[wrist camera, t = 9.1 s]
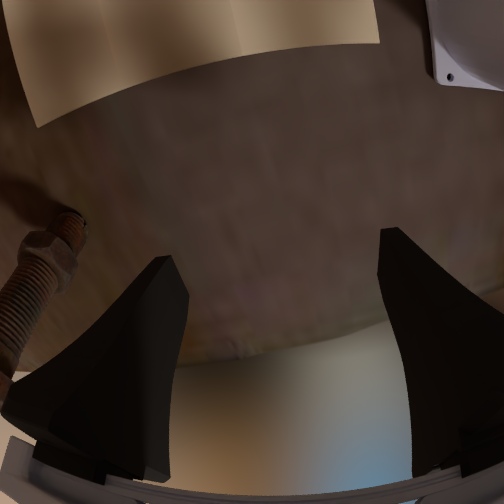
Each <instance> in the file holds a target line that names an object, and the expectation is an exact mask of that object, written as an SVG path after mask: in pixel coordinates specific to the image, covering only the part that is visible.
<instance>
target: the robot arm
mask: <svg viewBox="0 0 504 504" xmlns="http://www.w3.org/2000/svg"><path fill="white" fill-rule="evenodd" d="M425 1H426V7H427V14H428V21H429V29H430V37H431V47H432V59H433V74H434V79H435V81H436V82H437V83H439V84H441V85H451V86H464V87H475V88H484V89H492V90H500V91H504V0H425ZM448 74H450V75H451V78H450V80H447V75H448ZM377 276H378V280H379V285H380V289H381V294H382V298H383V302H384V305H385V308H386V311H387V313H388V316H389V319H390V322H391V325H392V328H393V331H394V335H395V338H396V341H397V344H398V347H399V350H400V353H401V358H402V362H403V366H404V372H405V378H406V384H407V391H408V398H409V408H410V418H411V432H412V477H413V479H409V480H404V481H400V482H396V483H391V484H386V485H381V486H376V487H370V488H364V489H357V490H350V491H342V492H333V493H324V494H311V495H295V496H294V495H292V496H247V495H227V494H214V493H205V492H196V491H188V490H181V489H174V488H168V487H161V486H156V485H152V484H146V483H142V482H137V481H133V479H138V480H143V479H144V480H149V481H154V482H160V483H164V482H166V481H167V480H169V479H170V477H171V476H170V464H169V463H170V462H169V416H170V402H171V391H172V383H173V377H174V372H175V367H176V363H177V359H178V355H179V351H180V346H181V342H182V338H183V334H184V330H185V326H186V321H187V314H188V305H189V293H188V291H187V289H186V287H185V285H184V283H183V281H182V278H181V276H180V274H179V272H178V270H177V267H176V265H175V263H174V261H173V259H172V256H171V255H168V256H160V257H156V258H154V259H153V260H152V261H151V262H150V263H149V264H148V265H147V267H146V268H145V269H144V270H143V271H142V272H141V273H140V274H139V275H138V276H137V278H136V279H135V280H134V281H133V282H132V283H131V284H130V285H129V287H128V288H127V289H126V290H125V291H124V292H123V293H122V294H121V296H120V297H119V298H118V299H117V300H116V301H115V302H114V303H113V304H112V305H111V306H110V307H109V308H108V310H107V311H106V312H105V313H104V314H103V315H102V316H101V317H100V318H99V319H98V320H97V321H96V322H95V323H94V324H93V325H92V326H91V327H90V328H89V329H88V330H87V331H85V332H84V333H83V334H82V335H81V336H80V337H79V338H78V339H77V340H75V341H74V342H73V343H72V344H70V345H69V346H68V347H67V348H65V349H64V350H63V351H62V352H61V353H59V354H58V355H57V356H55V357H54V358H53V359H51V360H50V361H48V362H47V363H46V364H44V365H43V366H41V367H40V368H38V369H37V370H35V371H33V372H32V373H30V374H28V375H27V376H25V377H23V378H22V379H20V380H18V381H16V382H14V383H12V384H11V386H10V388H9V390H8V392H7V395H6V397H5V400H4V402H3V405H2V407H1V410H0V413H1V415H2V417H3V418H4V419H6V420H7V421H8V422H9V423H11V424H12V425H14V426H15V427H17V428H18V429H20V430H21V431H23V432H25V433H26V434H27V435H29V436H30V437H32V438H34V439H35V440H37V442H36V445H35V446H34V445H32V444H29V443H27V442H25V441H23V440H21V439H19V438H17V437H15V436H11V437H10V440H9V443H8V446H7V449H6V453H5V456H4V460H3V463H2V467H1V470H0V491H2V492H4V493H5V494H6V495H8V496H9V497H10V498H12V499H13V500H15V501H16V502H17V503H19V504H146V503H149V504H398V503H403V502H407V501H411V500H415V499H418V500H417V501H416V502H415V504H504V314H502V313H501V312H499V311H498V310H496V309H495V308H493V307H492V306H490V305H489V304H487V303H486V302H484V301H483V300H482V299H480V298H479V297H478V296H476V295H475V294H474V293H472V292H471V291H470V290H468V289H467V288H466V287H464V286H463V285H462V284H461V283H459V282H458V281H457V280H456V279H455V278H454V277H452V276H451V275H450V274H449V273H448V272H446V271H445V270H444V269H443V268H442V267H441V266H440V265H438V264H437V263H436V262H435V261H434V260H433V259H432V258H431V257H430V256H429V255H427V254H426V253H425V252H424V251H423V250H422V249H421V248H420V247H419V246H418V245H417V244H416V243H414V242H413V241H412V240H411V239H410V238H409V237H408V236H407V235H406V234H405V233H404V232H403V231H401V230H400V229H399V228H398V227H394V228H386V229H381V231H380V247H379V260H378V272H377ZM419 498H420V499H419ZM144 502H145V503H144Z"/></svg>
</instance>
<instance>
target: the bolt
mask: <svg viewBox="0 0 504 504" xmlns="http://www.w3.org/2000/svg"><path fill="white" fill-rule="evenodd" d="M83 223H84V220H83V219H82V218H81V217H80V216H78V215H77V214H75V213H72V212H65V213H62V214H60V215H59V216H58V217H56V218H55V220H54V221H53V222H52V223H51V224H50V225H49V227H48V228H47V229H46V231H31V232H29V233H28V235H27V236H26V237H25V238H24V239H23V241H22V242H21V245H20V248H19V251H18V255H17V261H18V266H17V268H16V269H15V270H14V272H13V274H12V275H11V276H10V278H9V280H8V281H7V283H6V284H5V285H4V287H3V288H2V289H1V291H0V410H1V407H2V405H3V402H4V400H5V397H6V395H7V392H8V390H9V388H10V386H11V384H12V383H14V382H13V381H12V380H11V379H12V377H13V375H14V373H15V370H16V368H17V366H18V364H19V357H20V356H21V353H22V352H23V348H25V344H27V340H28V339H29V338H30V335H31V334H32V331H33V330H34V327H35V326H36V323H37V322H38V320H39V319H40V317H41V315H42V313H43V311H44V310H45V307H46V306H47V303H48V302H49V300H50V299H51V297H52V296H53V295H57V294H65V292H66V290H67V288H68V287H69V285H70V283H71V281H72V279H73V277H74V275H75V272H76V270H77V267H78V263H77V260H76V257H77V255H78V254H79V252H80V251H81V249H82V248H83V246H84V244H85V243H86V239H87V238H88V232H89V229H88V227H87V224H86V225H85V226H84V225H83Z"/></svg>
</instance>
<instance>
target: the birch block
mask: <svg viewBox="0 0 504 504" xmlns="http://www.w3.org/2000/svg"><path fill="white" fill-rule="evenodd" d="M2 4H3V10H4V15H5V20H6V25H7V29H8V34H9V38H10V42H11V46H12V50H13V54H14V58H15V62H16V65H17V69H18V72H19V76H20V79H21V82H22V85H23V88H24V92H25V95H26V98H27V101H28V103H29V106H30V109H31V112H32V115H33V118H34V120H35V123H36V126H37V128H39V127H41V126H43V125H44V124H46V123H48V122H50V121H52V120H54V119H56V118H58V117H60V116H62V115H64V114H66V113H69V112H71V111H73V110H75V109H77V108H79V107H82V106H84V105H86V104H88V103H91V102H93V101H95V100H98V99H100V98H102V97H105V96H107V95H110V94H112V93H115V92H118V91H120V90H123V89H126V88H128V87H131V86H134V85H137V84H139V83H142V82H145V81H148V80H151V79H154V78H158V77H161V76H164V75H167V74H171V73H174V72H177V71H181V70H184V69H188V68H192V67H196V66H200V65H204V64H208V63H212V62H216V61H220V60H225V59H230V58H235V57H240V56H245V55H250V54H256V53H262V52H268V51H275V50H282V49H290V48H298V47H307V46H318V45H332V44H352V43H380V41H379V34H378V27H377V21H376V15H375V9H374V4H373V0H2Z"/></svg>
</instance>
